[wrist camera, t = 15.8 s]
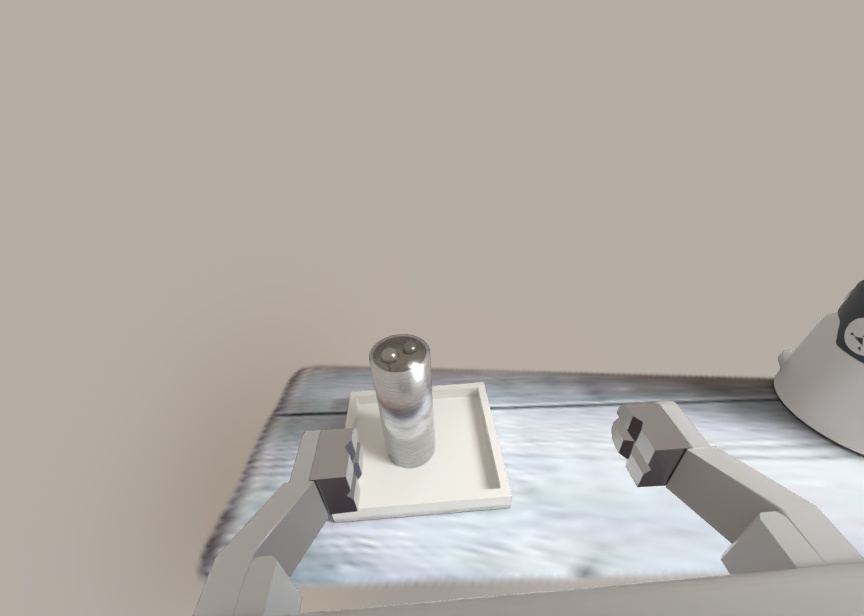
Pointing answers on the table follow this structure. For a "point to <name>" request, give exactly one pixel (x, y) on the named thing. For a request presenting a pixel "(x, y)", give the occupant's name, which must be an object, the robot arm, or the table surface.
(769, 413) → the table surface
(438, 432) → the cream tray
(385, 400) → the metal cup with balls
